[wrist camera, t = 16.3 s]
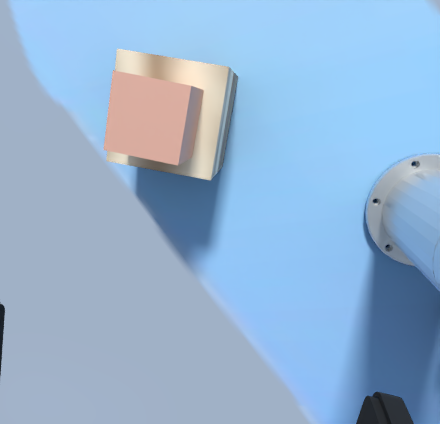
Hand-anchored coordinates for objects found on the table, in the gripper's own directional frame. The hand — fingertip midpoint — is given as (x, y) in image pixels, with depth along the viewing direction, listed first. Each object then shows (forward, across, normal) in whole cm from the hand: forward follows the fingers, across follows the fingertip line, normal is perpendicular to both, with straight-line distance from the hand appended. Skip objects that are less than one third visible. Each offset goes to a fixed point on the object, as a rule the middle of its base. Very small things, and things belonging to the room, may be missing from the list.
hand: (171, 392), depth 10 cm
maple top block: (+33, +8, -5) cm, 35 cm away
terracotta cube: (+28, +8, -5) cm, 30 cm away
